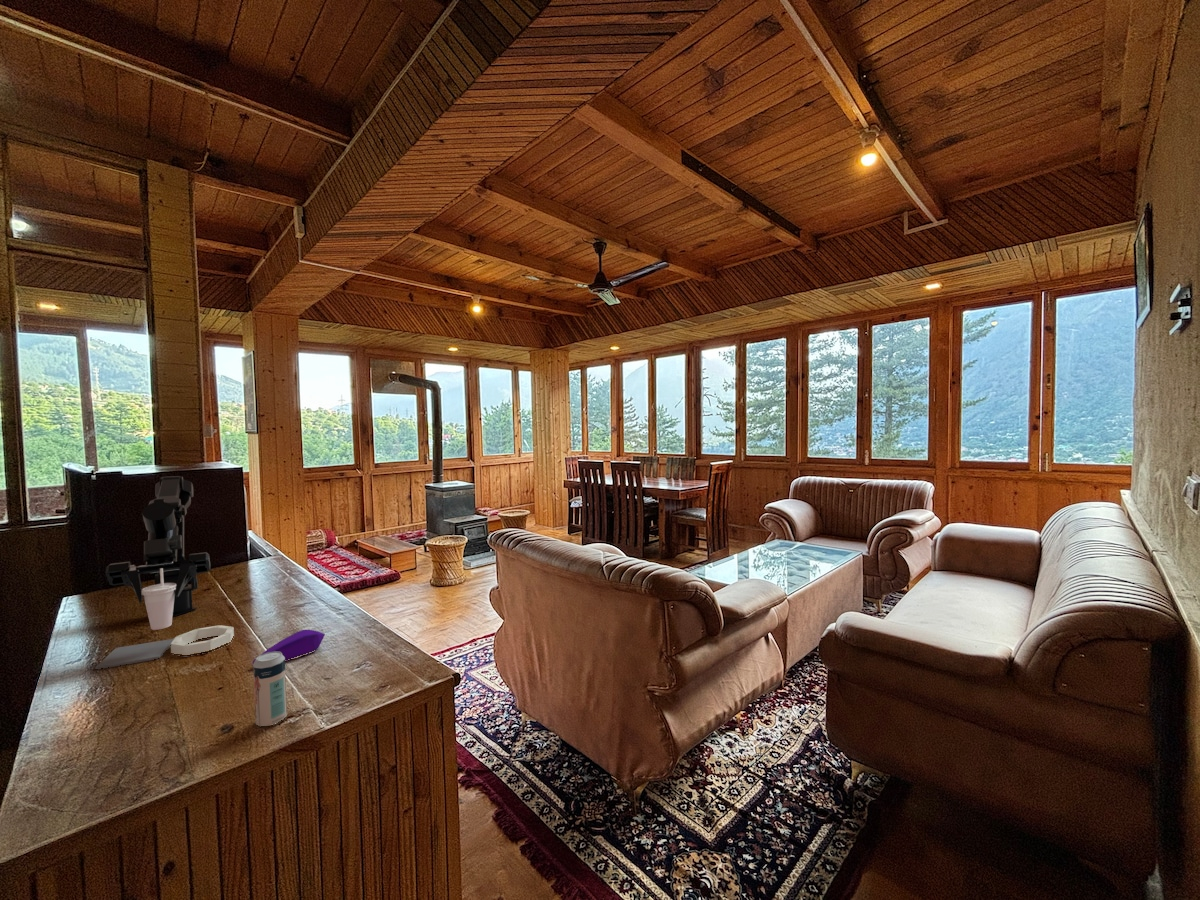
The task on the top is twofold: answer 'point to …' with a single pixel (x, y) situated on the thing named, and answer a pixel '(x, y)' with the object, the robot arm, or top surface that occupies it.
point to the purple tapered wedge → (298, 644)
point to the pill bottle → (270, 688)
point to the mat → (135, 654)
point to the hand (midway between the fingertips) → (158, 599)
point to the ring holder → (184, 648)
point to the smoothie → (160, 603)
